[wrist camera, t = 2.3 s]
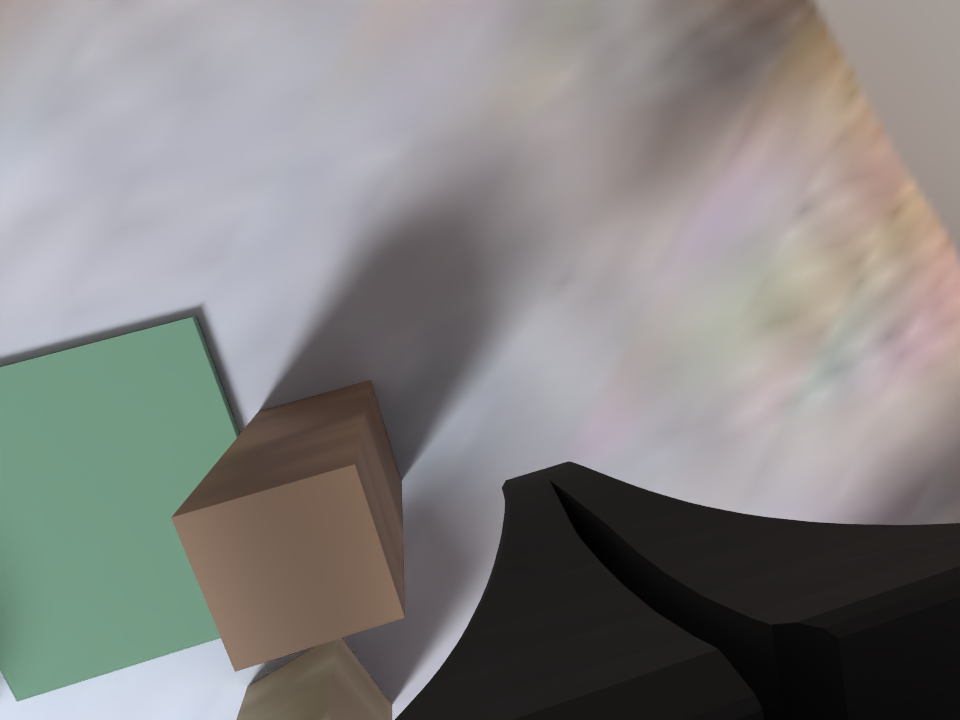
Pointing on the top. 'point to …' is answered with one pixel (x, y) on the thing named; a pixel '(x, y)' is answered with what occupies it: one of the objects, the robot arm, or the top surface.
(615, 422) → the top surface
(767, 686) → the robot arm
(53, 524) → the mat
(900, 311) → the top surface
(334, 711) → the maple block
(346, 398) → the walnut block
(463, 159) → the top surface
